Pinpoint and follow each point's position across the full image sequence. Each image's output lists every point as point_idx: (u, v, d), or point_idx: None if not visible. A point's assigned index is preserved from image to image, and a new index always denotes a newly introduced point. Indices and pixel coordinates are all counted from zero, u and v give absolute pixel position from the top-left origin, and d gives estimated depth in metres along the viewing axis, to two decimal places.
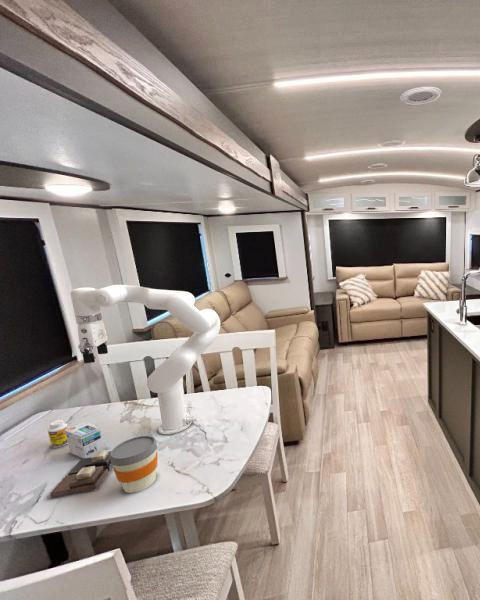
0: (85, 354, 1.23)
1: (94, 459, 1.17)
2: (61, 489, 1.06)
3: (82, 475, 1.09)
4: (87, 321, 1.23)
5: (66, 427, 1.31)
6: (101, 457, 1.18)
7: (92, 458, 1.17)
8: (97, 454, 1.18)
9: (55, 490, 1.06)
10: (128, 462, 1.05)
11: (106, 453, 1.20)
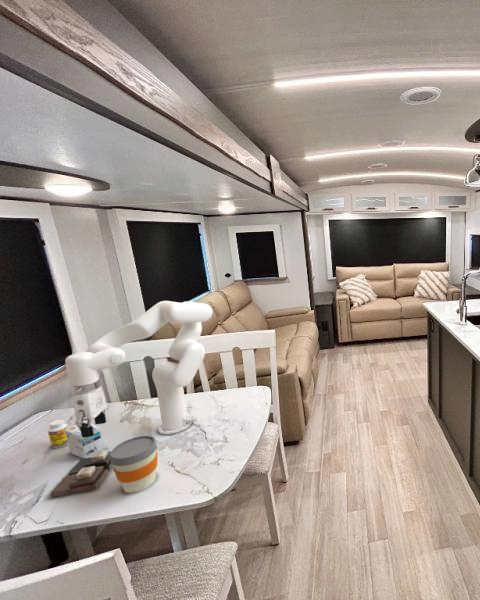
0: (83, 428, 1.11)
1: (94, 459, 1.17)
2: (61, 489, 1.06)
3: (82, 475, 1.09)
4: (84, 391, 1.10)
5: (66, 427, 1.31)
6: (101, 457, 1.18)
7: (92, 458, 1.17)
8: (97, 454, 1.18)
9: (55, 490, 1.06)
10: (128, 462, 1.05)
11: (106, 453, 1.20)
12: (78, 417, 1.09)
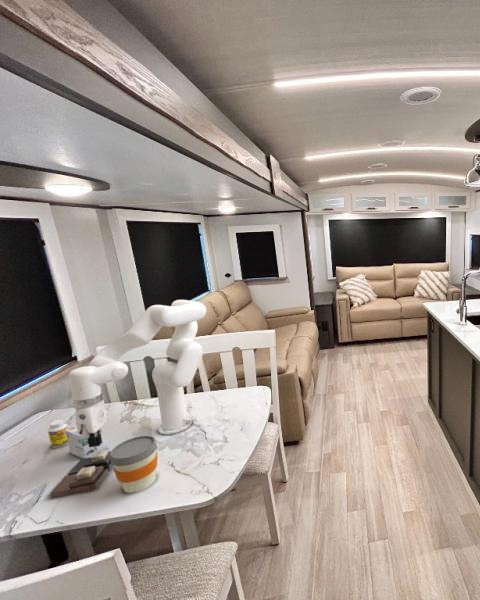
0: (90, 438, 1.15)
1: (94, 459, 1.17)
2: (61, 489, 1.06)
3: (82, 475, 1.09)
4: (86, 405, 1.11)
5: (66, 427, 1.31)
6: (101, 457, 1.18)
7: (92, 458, 1.17)
8: (97, 454, 1.18)
9: (55, 490, 1.06)
10: (128, 462, 1.05)
11: (106, 453, 1.20)
12: (83, 433, 1.11)
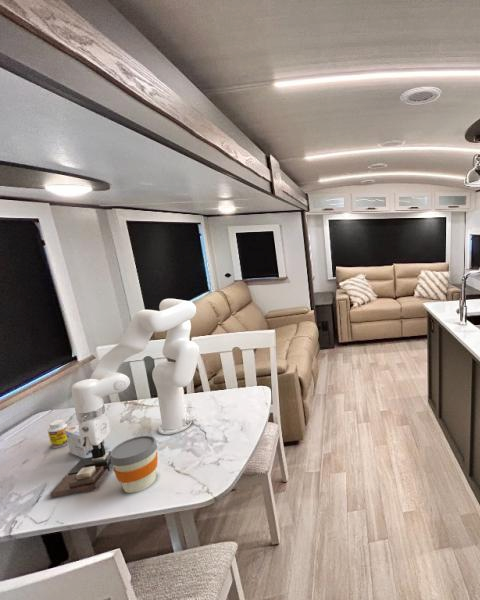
0: (94, 450, 1.16)
1: (94, 461, 1.17)
2: (61, 489, 1.06)
3: (82, 475, 1.09)
4: (89, 418, 1.12)
5: (66, 427, 1.31)
6: (101, 459, 1.18)
7: (92, 460, 1.17)
8: None
9: (55, 490, 1.06)
10: (128, 462, 1.05)
11: (106, 455, 1.20)
12: (87, 445, 1.13)
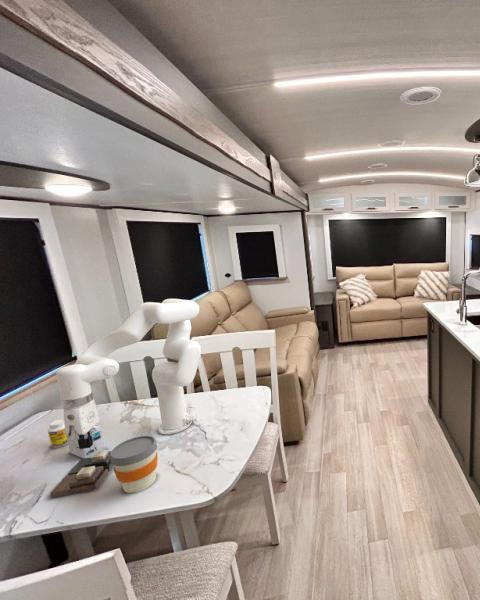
0: (80, 440, 1.10)
1: (94, 459, 1.17)
2: (61, 489, 1.06)
3: (82, 475, 1.09)
4: (75, 405, 1.06)
5: None
6: (101, 457, 1.18)
7: (92, 458, 1.17)
8: (97, 454, 1.18)
9: (55, 490, 1.06)
10: (128, 462, 1.05)
11: (106, 453, 1.20)
12: (72, 434, 1.06)
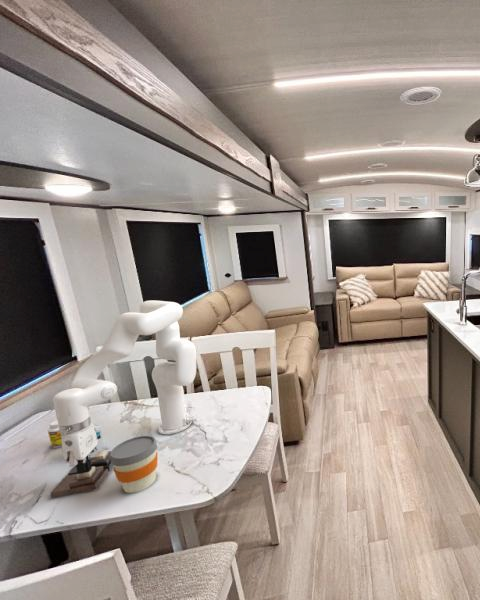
0: (79, 464, 1.08)
1: (94, 459, 1.17)
2: (61, 489, 1.06)
3: (82, 476, 1.09)
4: (73, 431, 1.04)
5: None
6: (101, 457, 1.18)
7: (92, 458, 1.17)
8: (97, 454, 1.18)
9: (55, 490, 1.06)
10: (128, 462, 1.05)
11: (106, 453, 1.20)
12: (71, 460, 1.04)
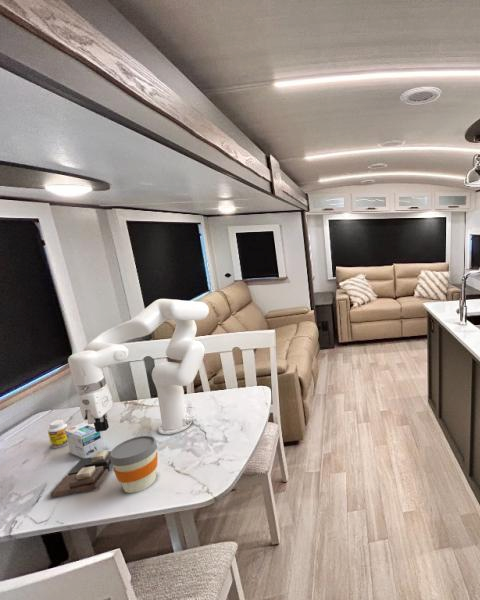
0: (96, 423, 1.13)
1: (94, 459, 1.17)
2: (61, 489, 1.06)
3: (82, 475, 1.09)
4: (89, 390, 1.08)
5: (66, 427, 1.31)
6: (101, 457, 1.18)
7: (92, 458, 1.17)
8: (97, 454, 1.18)
9: (55, 490, 1.06)
10: (128, 462, 1.05)
11: (106, 453, 1.20)
12: (89, 418, 1.08)
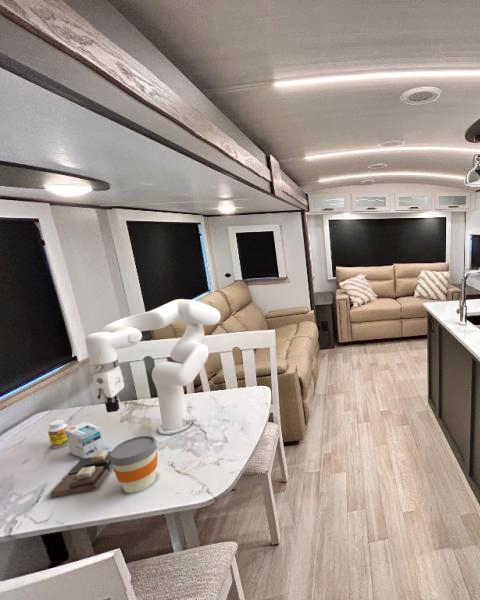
0: (108, 403, 1.16)
1: (94, 459, 1.17)
2: (61, 489, 1.06)
3: (82, 475, 1.09)
4: (103, 370, 1.12)
5: (66, 427, 1.31)
6: (101, 457, 1.18)
7: (92, 458, 1.17)
8: (97, 454, 1.18)
9: (55, 490, 1.06)
10: (128, 462, 1.05)
11: (106, 453, 1.20)
12: (101, 397, 1.12)
